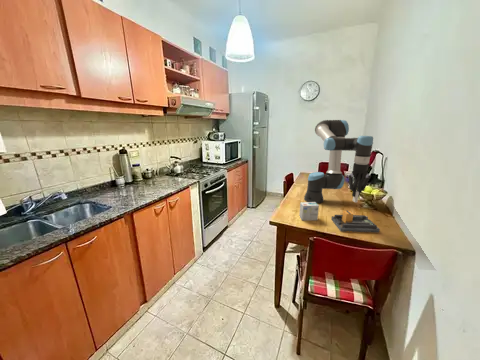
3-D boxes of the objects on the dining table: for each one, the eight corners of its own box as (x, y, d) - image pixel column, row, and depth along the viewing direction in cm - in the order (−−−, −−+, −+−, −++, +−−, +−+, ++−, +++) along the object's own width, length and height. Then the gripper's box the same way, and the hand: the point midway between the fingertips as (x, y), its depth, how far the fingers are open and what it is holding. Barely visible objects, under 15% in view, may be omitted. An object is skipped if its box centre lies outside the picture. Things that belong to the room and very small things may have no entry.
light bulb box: (313, 216, 139) (315, 201, 136) (317, 220, 133) (319, 205, 130) (298, 216, 139) (299, 201, 136) (301, 220, 133) (303, 205, 130)
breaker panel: (331, 219, 134) (332, 213, 133) (365, 220, 132) (366, 214, 131) (340, 231, 120) (341, 224, 118) (379, 232, 118) (380, 225, 117)
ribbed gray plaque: (334, 216, 133) (334, 214, 132) (366, 217, 131) (366, 215, 131) (343, 227, 119) (343, 224, 119) (379, 228, 118) (379, 226, 117)
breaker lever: (342, 219, 128) (343, 210, 126) (348, 220, 128) (350, 210, 126) (345, 223, 124) (346, 213, 122) (351, 223, 123) (353, 213, 121)
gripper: (352, 164, 112) (346, 203, 118) (376, 164, 111) (369, 204, 118) (346, 162, 119) (341, 199, 126) (369, 162, 118) (362, 199, 125)
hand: (354, 201), depth 122 cm, fingers closed
